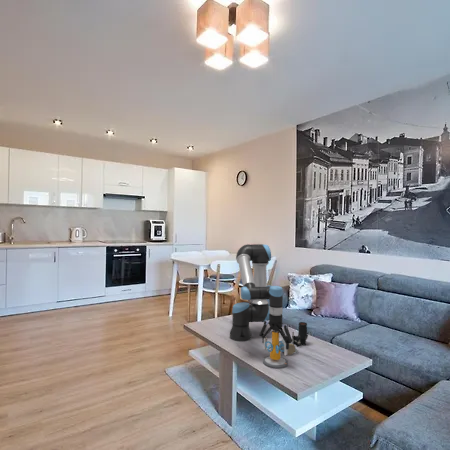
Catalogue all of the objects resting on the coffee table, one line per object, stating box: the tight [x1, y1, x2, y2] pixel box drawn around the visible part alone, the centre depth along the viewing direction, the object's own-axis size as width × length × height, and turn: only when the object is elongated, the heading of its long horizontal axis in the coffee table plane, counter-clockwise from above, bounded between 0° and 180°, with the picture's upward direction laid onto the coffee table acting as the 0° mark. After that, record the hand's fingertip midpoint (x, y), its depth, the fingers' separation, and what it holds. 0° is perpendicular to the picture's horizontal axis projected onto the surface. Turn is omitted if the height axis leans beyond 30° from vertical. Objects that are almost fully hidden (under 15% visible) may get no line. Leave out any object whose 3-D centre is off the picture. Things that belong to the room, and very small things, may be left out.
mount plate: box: [262, 355, 289, 369], centre depth 173 cm, size 14×14×1 cm
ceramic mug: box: [279, 338, 299, 356], centre depth 187 cm, size 11×8×8 cm
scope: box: [291, 321, 309, 348], centre depth 201 cm, size 8×14×10 cm
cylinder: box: [265, 330, 284, 360], centre depth 173 cm, size 12×10×15 cm
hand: (275, 351), depth 173 cm, fingers closed on cylinder, 12 cm apart
